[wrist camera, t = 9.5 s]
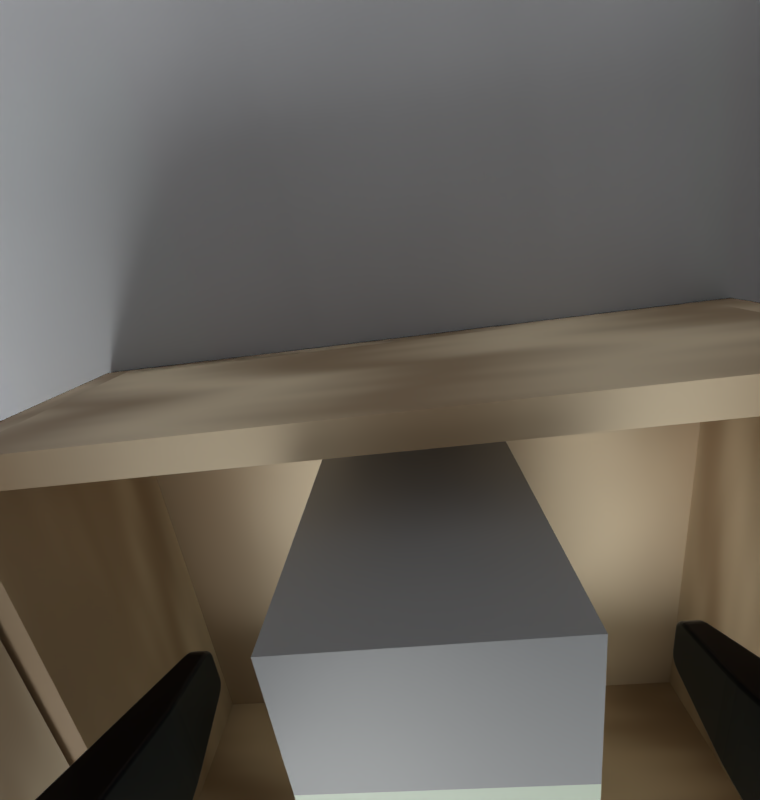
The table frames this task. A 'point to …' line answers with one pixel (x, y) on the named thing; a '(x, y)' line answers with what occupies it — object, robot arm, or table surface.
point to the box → (432, 638)
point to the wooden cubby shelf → (365, 435)
